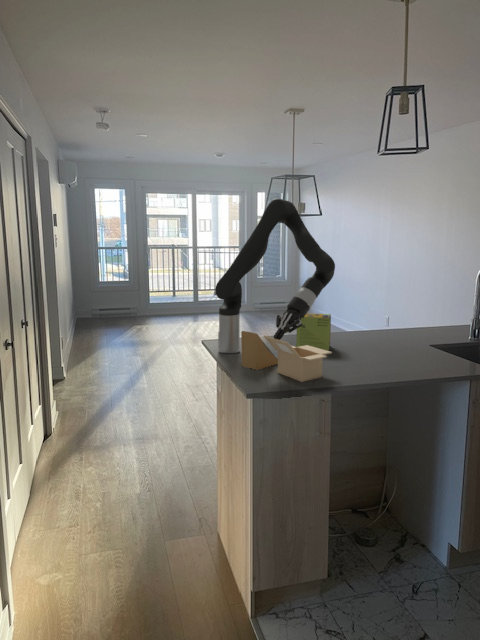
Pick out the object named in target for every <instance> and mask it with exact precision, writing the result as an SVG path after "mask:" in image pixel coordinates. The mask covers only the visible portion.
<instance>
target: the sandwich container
mask: <svg viewBox="0 0 480 640" xmlns="http://www.w3.org/2000/svg"><path fill="white" fill-rule="evenodd" d="M240 335H241V338H240V340H241V367H243V366H244V367H243V368H246V367H248V368H247V369H250V368H252V369H251V370H254V369H256V370H255V371H258V369H259V370H262V369H266V368H269V367H272V366H275V365H278V357H276V356H275V354H274V353H273V352H272V351H271V349H270V348H269V347H268V346H267V345H266V344H265V342H264V340H263V339H262V338H261V337H260V335H259V334H258V333H256V332H251V331H246V330H241V331H240ZM274 364H275V365H274ZM271 365H272V366H271ZM268 366H269V367H268ZM265 367H266V368H265Z"/></svg>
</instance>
